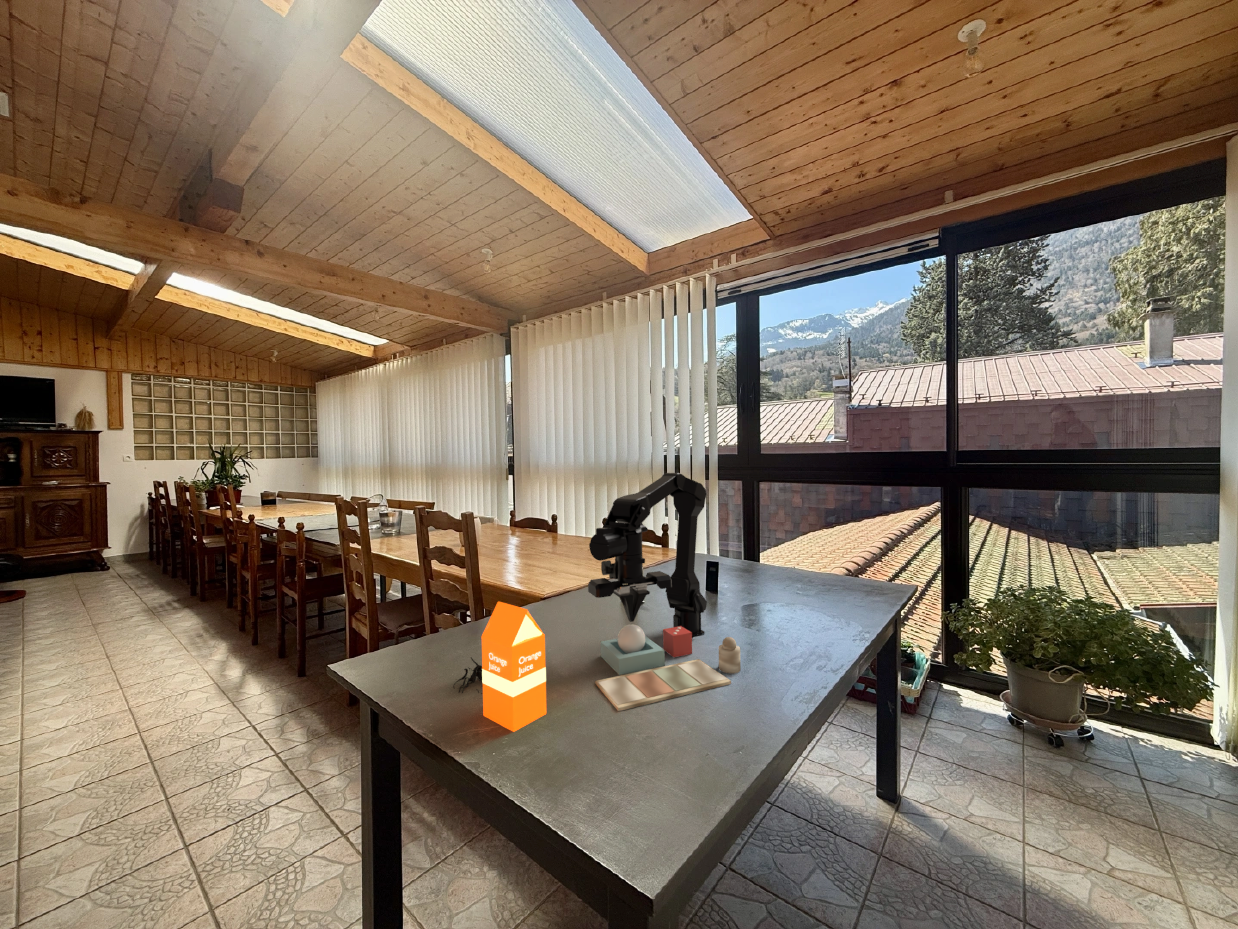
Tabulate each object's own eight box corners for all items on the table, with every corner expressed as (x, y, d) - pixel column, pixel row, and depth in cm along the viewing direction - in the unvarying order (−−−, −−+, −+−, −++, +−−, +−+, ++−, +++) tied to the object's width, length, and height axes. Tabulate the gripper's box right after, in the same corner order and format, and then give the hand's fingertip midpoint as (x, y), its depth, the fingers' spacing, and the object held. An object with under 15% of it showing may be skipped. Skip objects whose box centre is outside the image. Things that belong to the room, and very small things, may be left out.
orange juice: (516, 699, 94) (514, 596, 94) (547, 713, 89) (545, 604, 88) (482, 716, 88) (479, 606, 88) (513, 732, 82) (510, 615, 82)
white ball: (638, 645, 115) (637, 619, 115) (650, 655, 109) (650, 627, 109) (613, 650, 112) (612, 623, 112) (624, 660, 107) (624, 631, 106)
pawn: (732, 663, 109) (731, 632, 109) (745, 671, 105) (744, 639, 104) (714, 666, 107) (714, 635, 107) (727, 675, 103) (726, 642, 103)
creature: (478, 704, 95) (501, 678, 102) (473, 680, 94) (497, 655, 101) (446, 697, 98) (471, 673, 105) (441, 674, 97) (467, 650, 104)
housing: (642, 648, 118) (642, 634, 118) (664, 665, 108) (664, 650, 108) (600, 656, 114) (600, 641, 114) (619, 675, 104) (618, 659, 103)
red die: (681, 646, 119) (680, 625, 119) (692, 653, 114) (691, 632, 114) (663, 649, 117) (662, 628, 117) (673, 657, 112) (673, 635, 112)
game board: (699, 661, 110) (698, 658, 110) (731, 683, 99) (731, 680, 99) (595, 683, 100) (595, 680, 100) (618, 711, 89) (618, 707, 89)
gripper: (650, 544, 122) (651, 606, 122) (579, 551, 114) (581, 617, 114) (672, 551, 111) (673, 619, 112) (596, 559, 104) (597, 632, 104)
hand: (631, 621), depth 111 cm, fingers closed
